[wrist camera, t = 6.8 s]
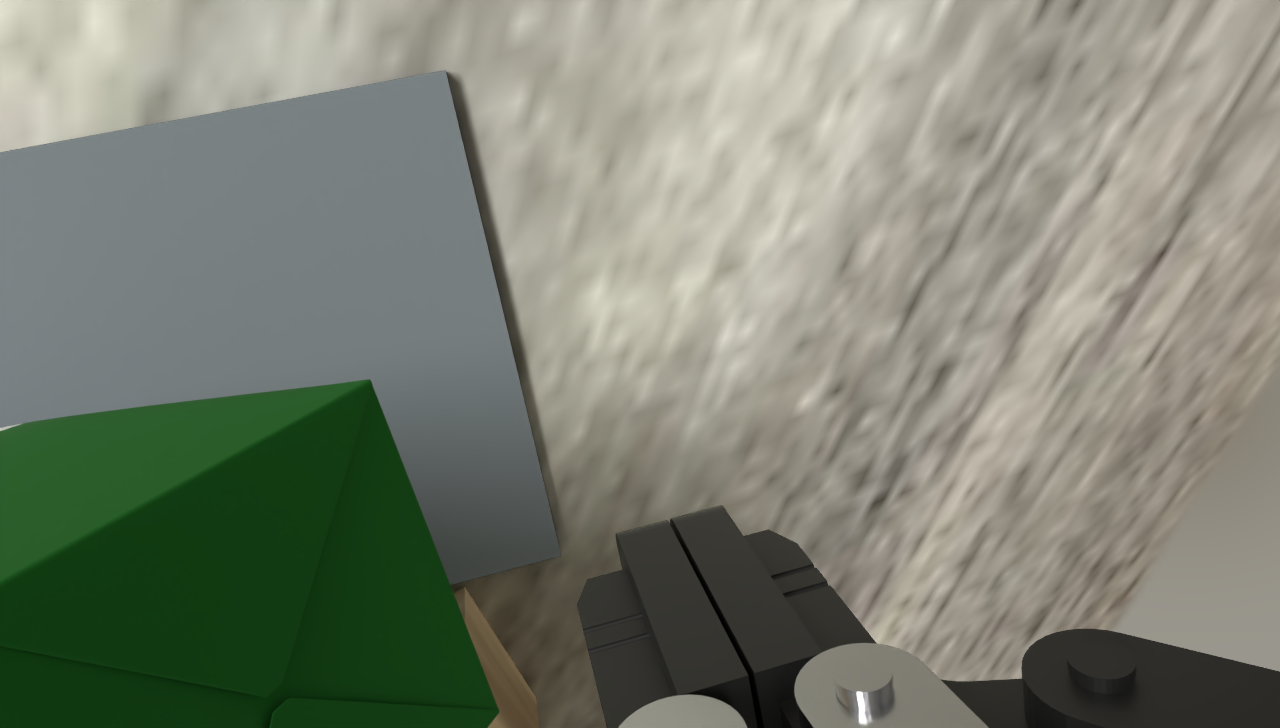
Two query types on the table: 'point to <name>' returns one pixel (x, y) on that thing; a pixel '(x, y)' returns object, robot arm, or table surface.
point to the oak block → (499, 670)
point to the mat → (282, 289)
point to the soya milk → (226, 572)
